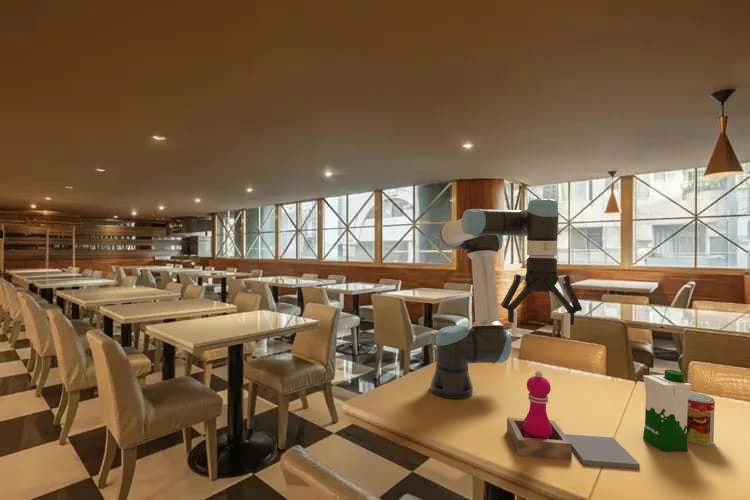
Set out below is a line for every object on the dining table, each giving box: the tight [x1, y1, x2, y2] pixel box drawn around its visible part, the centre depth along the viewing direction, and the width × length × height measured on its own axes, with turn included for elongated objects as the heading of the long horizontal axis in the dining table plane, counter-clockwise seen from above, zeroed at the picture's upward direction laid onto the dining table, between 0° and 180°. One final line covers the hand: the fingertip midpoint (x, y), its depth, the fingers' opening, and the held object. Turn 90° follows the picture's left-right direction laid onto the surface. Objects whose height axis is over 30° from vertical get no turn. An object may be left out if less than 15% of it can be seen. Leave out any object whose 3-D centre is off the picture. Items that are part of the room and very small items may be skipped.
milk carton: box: [642, 369, 693, 453], centre depth 106 cm, size 9×9×20 cm
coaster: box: [564, 433, 641, 470], centre depth 101 cm, size 13×13×1 cm
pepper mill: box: [523, 370, 552, 439], centre depth 105 cm, size 7×7×20 cm
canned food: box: [687, 391, 716, 447], centre depth 109 cm, size 8×8×12 cm
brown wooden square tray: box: [506, 416, 573, 460], centre depth 105 cm, size 13×13×4 cm
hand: (540, 335), depth 104 cm, fingers open, 13 cm apart
